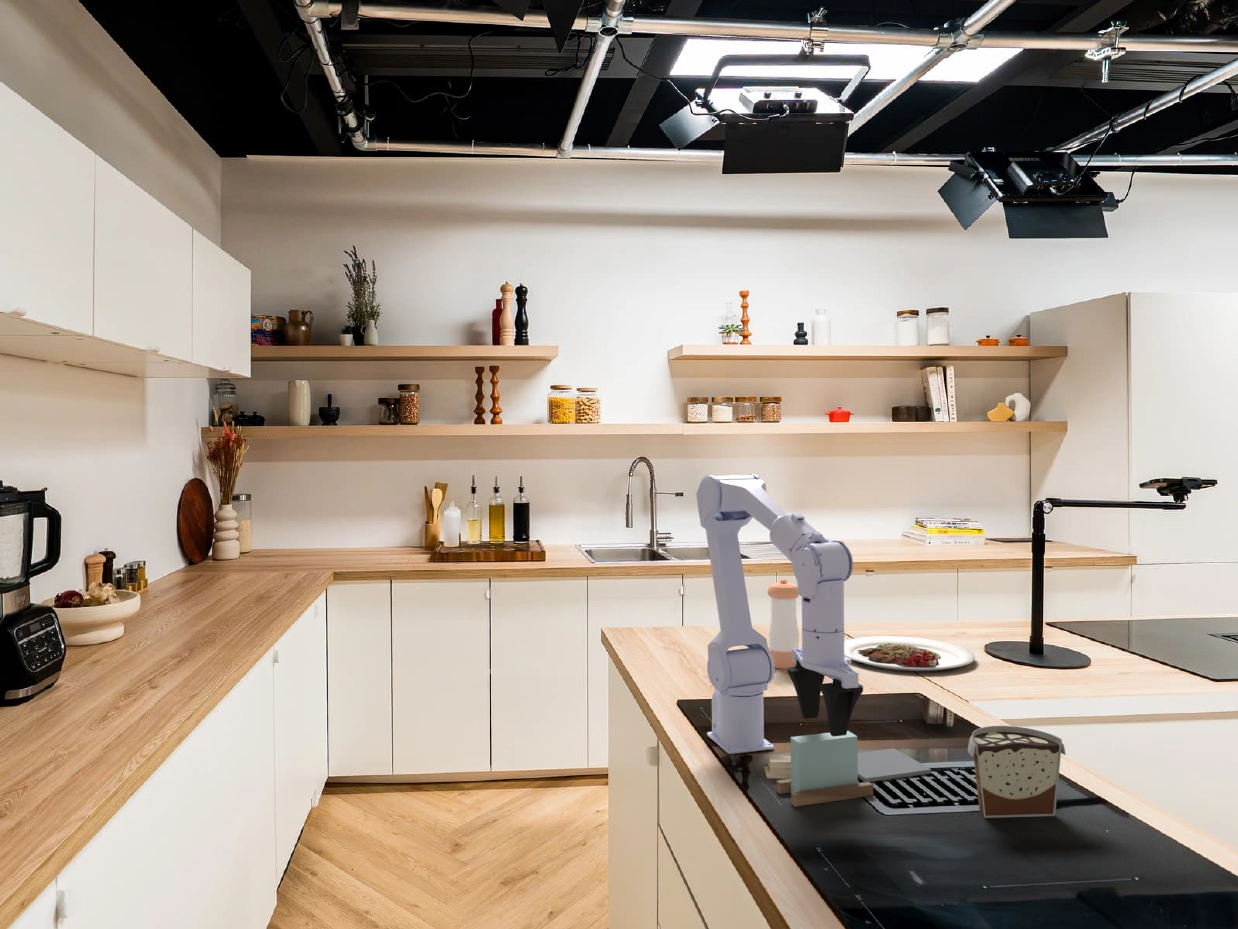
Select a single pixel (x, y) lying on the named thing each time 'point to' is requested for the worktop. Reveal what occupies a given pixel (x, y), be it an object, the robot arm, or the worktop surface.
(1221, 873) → the worktop surface
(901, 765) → the slate mat
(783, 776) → the offcut planks
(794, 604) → the pepper shaker
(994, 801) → the food container
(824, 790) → the walnut rack
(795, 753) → the tall board
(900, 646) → the plated food
